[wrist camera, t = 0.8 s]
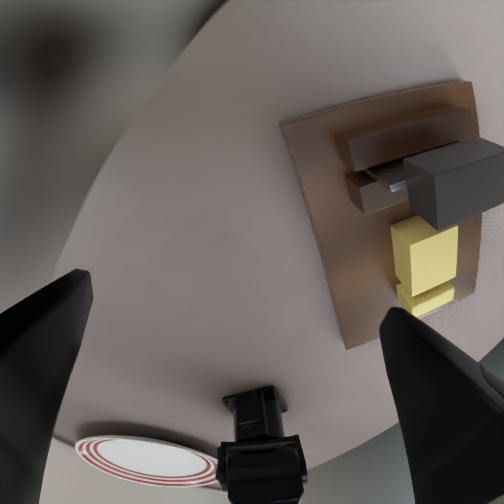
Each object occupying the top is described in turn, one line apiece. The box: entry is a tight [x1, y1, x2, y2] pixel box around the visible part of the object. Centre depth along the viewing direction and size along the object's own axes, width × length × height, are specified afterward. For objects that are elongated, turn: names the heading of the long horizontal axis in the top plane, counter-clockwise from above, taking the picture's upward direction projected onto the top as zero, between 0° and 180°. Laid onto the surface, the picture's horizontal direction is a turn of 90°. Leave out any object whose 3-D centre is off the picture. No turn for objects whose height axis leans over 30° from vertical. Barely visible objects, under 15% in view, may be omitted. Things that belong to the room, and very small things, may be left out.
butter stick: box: [390, 215, 458, 297], centre depth 21 cm, size 5×4×3 cm
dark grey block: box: [362, 137, 504, 231], centre depth 15 cm, size 3×8×8 cm, turn 110°
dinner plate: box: [75, 435, 218, 487], centre depth 42 cm, size 28×27×3 cm
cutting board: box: [279, 80, 482, 350], centre depth 22 cm, size 22×16×4 cm
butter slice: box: [396, 281, 454, 317], centre depth 24 cm, size 2×4×3 cm, turn 110°
